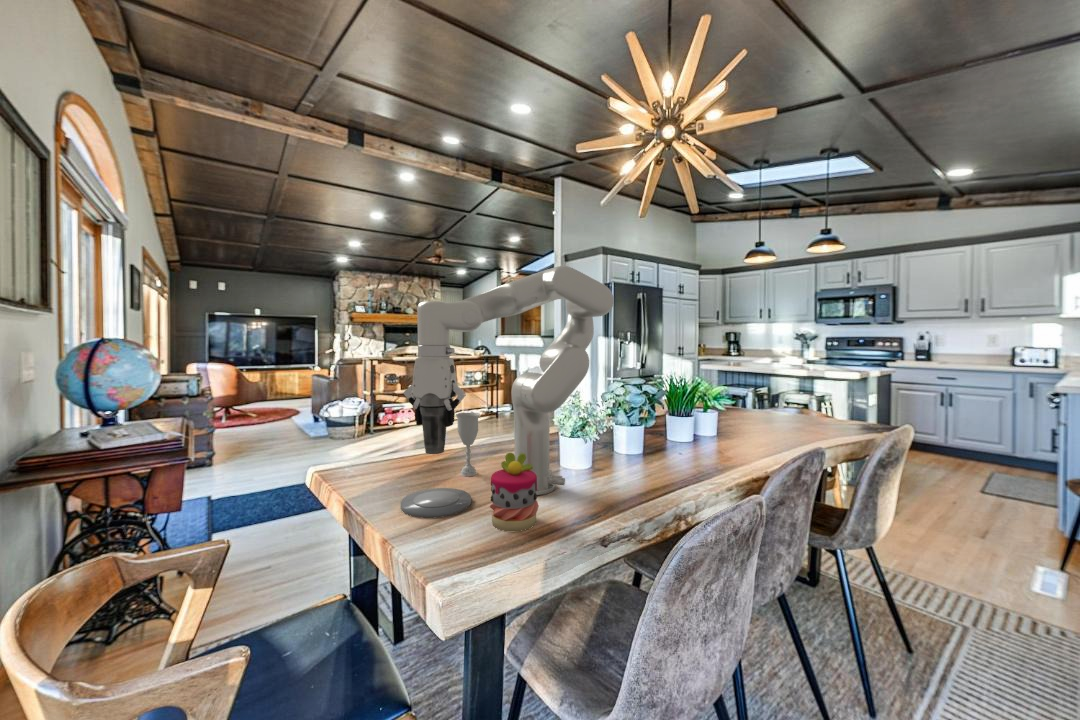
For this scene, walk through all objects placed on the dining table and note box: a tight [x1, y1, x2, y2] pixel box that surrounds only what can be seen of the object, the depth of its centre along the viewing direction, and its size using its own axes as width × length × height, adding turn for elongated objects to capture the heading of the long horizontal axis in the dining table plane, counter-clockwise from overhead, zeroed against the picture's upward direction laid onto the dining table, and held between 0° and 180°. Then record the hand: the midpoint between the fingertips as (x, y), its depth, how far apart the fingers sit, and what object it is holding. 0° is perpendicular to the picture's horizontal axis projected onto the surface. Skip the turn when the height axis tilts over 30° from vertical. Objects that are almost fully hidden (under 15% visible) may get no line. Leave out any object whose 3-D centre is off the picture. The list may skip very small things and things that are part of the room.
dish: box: [400, 487, 472, 519], centre depth 115 cm, size 17×17×2 cm
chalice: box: [455, 412, 481, 477], centre depth 139 cm, size 7×7×18 cm
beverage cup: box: [419, 393, 447, 455], centre depth 113 cm, size 7×7×20 cm
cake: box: [489, 452, 540, 532], centre depth 103 cm, size 10×11×15 cm
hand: (434, 424), depth 114 cm, fingers closed on beverage cup, 7 cm apart
